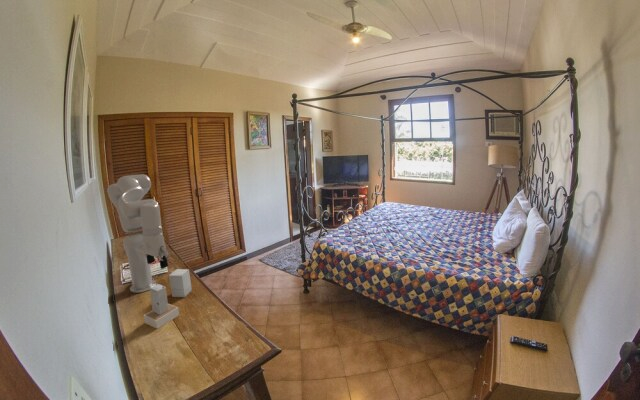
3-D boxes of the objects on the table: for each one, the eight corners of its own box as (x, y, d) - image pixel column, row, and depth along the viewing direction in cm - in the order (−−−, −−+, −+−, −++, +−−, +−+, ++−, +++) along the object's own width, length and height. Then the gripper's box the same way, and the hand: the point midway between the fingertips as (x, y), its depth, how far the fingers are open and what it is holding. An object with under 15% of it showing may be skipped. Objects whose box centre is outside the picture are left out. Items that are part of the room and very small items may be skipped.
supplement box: (192, 290, 158) (189, 269, 155) (184, 297, 150) (181, 275, 148) (179, 289, 158) (176, 268, 155) (171, 297, 151) (168, 275, 148)
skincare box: (152, 311, 131) (148, 287, 129) (161, 306, 135) (157, 283, 133) (160, 315, 129) (156, 291, 126) (169, 310, 132) (166, 286, 130)
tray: (145, 323, 130) (143, 314, 129) (167, 310, 140) (165, 302, 139) (157, 328, 126) (156, 320, 125) (179, 314, 136) (178, 306, 135)
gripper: (132, 229, 129) (138, 264, 133) (156, 236, 121) (161, 273, 125) (149, 224, 135) (154, 257, 139) (172, 231, 127) (177, 266, 132)
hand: (157, 265), depth 132 cm, fingers open, 9 cm apart
